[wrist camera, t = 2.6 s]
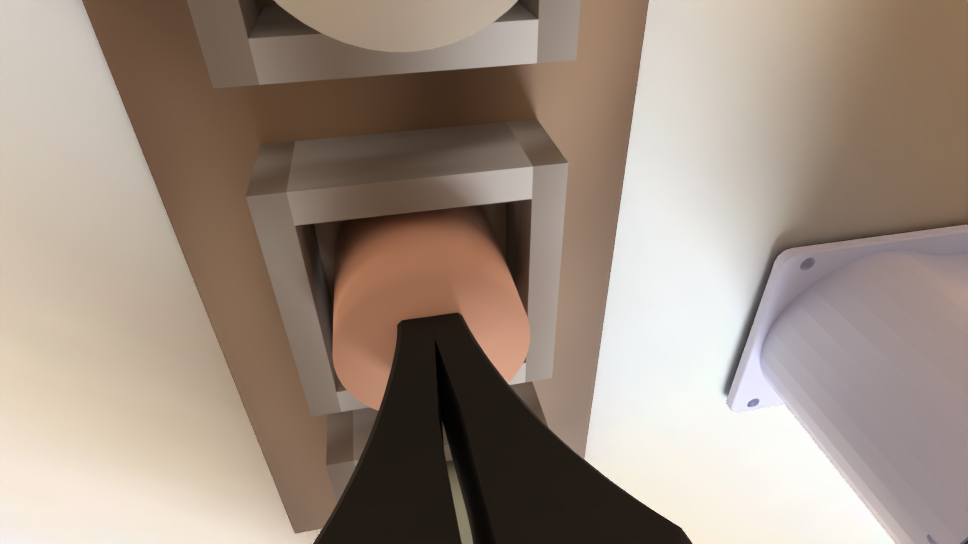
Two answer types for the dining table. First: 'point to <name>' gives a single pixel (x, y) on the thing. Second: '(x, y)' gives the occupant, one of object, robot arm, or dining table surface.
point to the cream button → (397, 21)
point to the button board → (377, 189)
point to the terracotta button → (420, 291)
